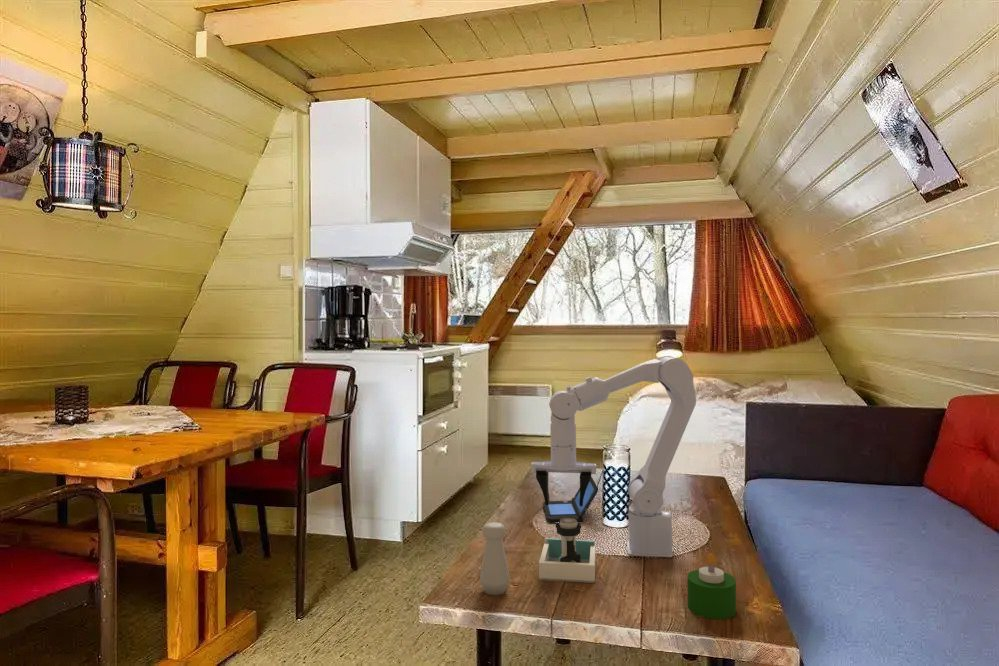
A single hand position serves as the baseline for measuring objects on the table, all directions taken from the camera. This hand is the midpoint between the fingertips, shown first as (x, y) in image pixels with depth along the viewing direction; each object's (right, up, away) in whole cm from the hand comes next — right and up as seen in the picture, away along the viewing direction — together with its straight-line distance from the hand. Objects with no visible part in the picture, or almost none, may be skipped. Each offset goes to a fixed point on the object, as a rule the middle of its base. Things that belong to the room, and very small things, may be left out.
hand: (564, 504), depth 143 cm
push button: (-1, -11, -12) cm, 16 cm away
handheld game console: (+4, -10, +27) cm, 29 cm away
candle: (+24, -11, -29) cm, 39 cm away
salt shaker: (-16, -11, -20) cm, 28 cm away
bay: (0, -11, -11) cm, 15 cm away
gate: (+1, -10, -5) cm, 12 cm away
